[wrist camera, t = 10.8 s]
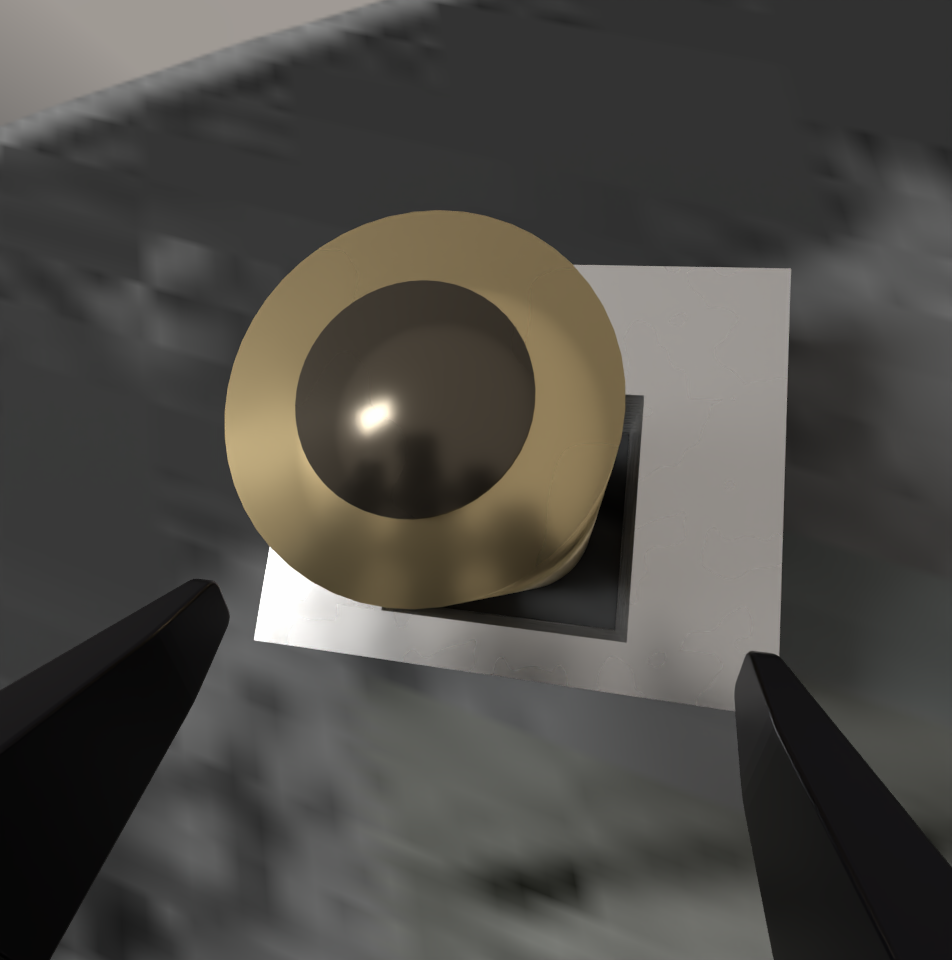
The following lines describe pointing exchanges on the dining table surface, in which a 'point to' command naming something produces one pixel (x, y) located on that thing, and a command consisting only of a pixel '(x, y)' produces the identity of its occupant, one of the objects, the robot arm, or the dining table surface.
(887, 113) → the dining table surface
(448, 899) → the dining table surface
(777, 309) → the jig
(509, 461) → the bushing
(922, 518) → the dining table surface
